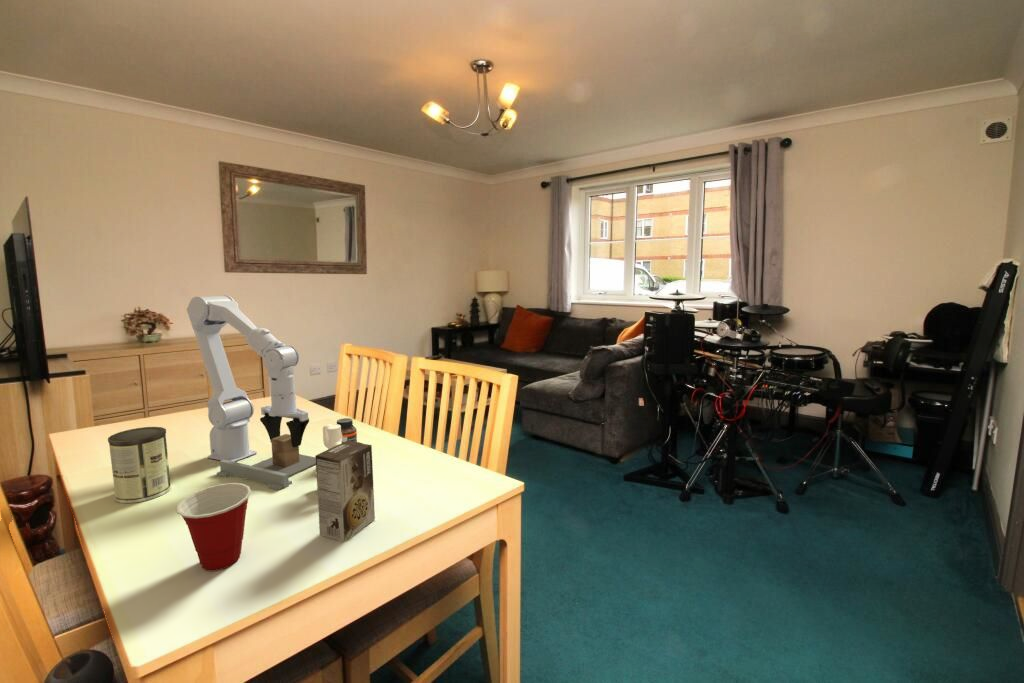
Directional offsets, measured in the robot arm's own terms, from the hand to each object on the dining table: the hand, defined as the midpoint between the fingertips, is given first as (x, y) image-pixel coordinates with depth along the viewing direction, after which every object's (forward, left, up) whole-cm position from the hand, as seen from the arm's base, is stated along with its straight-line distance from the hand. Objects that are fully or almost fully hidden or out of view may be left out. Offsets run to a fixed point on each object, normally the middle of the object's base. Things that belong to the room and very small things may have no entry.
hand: (286, 444), depth 125 cm
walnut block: (0, 0, -5) cm, 5 cm away
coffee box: (+37, -18, -6) cm, 42 cm away
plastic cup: (+25, -36, -6) cm, 45 cm away
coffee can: (-16, -25, -6) cm, 31 cm away
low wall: (0, -10, -6) cm, 12 cm away
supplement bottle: (+12, +9, -6) cm, 16 cm away
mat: (0, 0, -6) cm, 6 cm away
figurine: (+22, -5, -6) cm, 24 cm away
